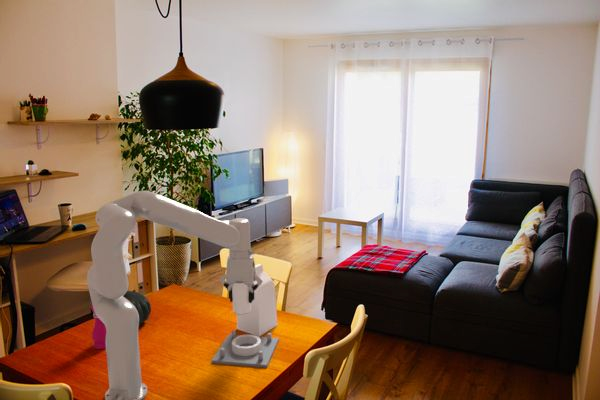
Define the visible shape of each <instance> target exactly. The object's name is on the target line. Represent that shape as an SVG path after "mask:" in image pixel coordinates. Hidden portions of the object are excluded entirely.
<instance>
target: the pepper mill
mask: <svg viewBox="0 0 600 400" xmlns="http://www.w3.org/2000/svg"><path fill="white" fill-rule="evenodd" d="M90 310H91V311H92V312H93V313H92V316H93V318H94V326H93V329H92V332H91V338H92V340H93V341H94V342H93V347H94V349H96V350H102V349H105V350H106V332H107V331H106V326H105V324H104V323H103V322H102V321H101V320H100V319H99V318H98V317H97V315H96V314H95V311H94V308H93V305H92V303H91V305H90Z"/></svg>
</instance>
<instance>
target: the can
mask: <svg viewBox="0 0 600 400" xmlns="http://www.w3.org/2000/svg"><path fill="white" fill-rule="evenodd" d="M249 292H250V290H249V288H248V285H245V284H244V282H243V283H237V282H235V283H234V284H233V285H232V299H233V301H232V312H233V313H234V314H235V315H237V314H238V315H244V314H247V313H249V312H250V311H251V303H249Z"/></svg>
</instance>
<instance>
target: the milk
mask: <svg viewBox="0 0 600 400" xmlns="http://www.w3.org/2000/svg"><path fill="white" fill-rule="evenodd" d="M255 270H256V275H257V276H258V277H259V278H260V279H261V280H262V281H263V282H262V284H261V285H260V286H259V287H258V288H257V289H256V290H255V291H254V300H253V301H252V303H251V311H250V312H249V313H247V314H244V315H238V314H236V330H237V331H242V332H244V333H247V334H249V335H255V336H257V337H262V336H263V335H264V334H266V333H268V332H269V331H271V330H272V329H274V328H275V327H277V326H278V316H277V315H278V313H277V301H276V289H275V281H274V280H273V279H272V278H271V277H270V276H269V275H268V274H267V272H266V271H265V270H264V267H263V265H262V264H261V263H259V264H255ZM253 284H254V285H255V284H257V281H256V280H255V281H254V283H253Z"/></svg>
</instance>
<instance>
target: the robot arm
mask: <svg viewBox="0 0 600 400" xmlns="http://www.w3.org/2000/svg"><path fill="white" fill-rule="evenodd" d="M140 218H143V219H145V220H148V221H150V222H152V223H156V224H158V225H161V226H164V227H166V228H169V229H172V230H175V231H177V232H179V233H182V234H185V235H188V236H192V237H195V238H197V239H198V238H199V239H202V240H205V241H207V242H210V243H213V244H215V245H217V246H221V247H223V248H225V249H228V250H229V251H228V252H229V255H228V257H227V261H226V270H225V271H226V272H225V274H224V275H223V276H222V277H221V278H220V279H219V282H220V284H221V285H222V286H223V287H224V288H225V289H226V290H227V292H228V299H229V302H230V303H233V299H232V285H233V284H234V283H235V282H237V283H243V282H244V284H245V285H248V288H249V290H250V292H249V303H252V301H253V300H254V291H255V290H256V289H257V288H258V287H259V286H260V285H261V284H262V282H263V281H262V280H261V279H260V278H259V277H258V276H257V275H256V270H255V266H256V262H255V258H254V256H253V255H255V253H256V252H255V250H252V247H251V246H252V245H251V223H250V220H249V219H247V218H242V217H236V218H232V219H229V220H219V219H217V218H214V217H213V216H209V215H208V214H205V213H203V212H201V211H199V210H198V209H196V208H193V207H191V206H189V205H186V204H184V203H180V202H178V201H176V200H173V199H171V198H168V197H167V196H164V195H161V194H159V193H155V192H152V191H149V190H139V191H135V192H133V193H130V194H128V195H126V196H122V197H120V198H117V199H115V200H112V201H110V202H107V203H105V204H103V205H102V206H100V207H99V208H98V210H97V211H96V214H95V223H96V225H97V226H98V228H99V229H98V230H97V232H96V234H95V236H94V238H93V239H92V243H91V247H90V249H91V250H90V251H91V259H92V260H91V261H92V265H91V266H90V268H89V269H88V271H87V275H86V282H87V287H88V292H89V295H90V301H91V304H92V305H93V308H94V311H95V314H96V315H97V317H98V318H99V319H100V320H101V321H102V322H103V323H104V324H105V326H106V331H107V332H106V348H105V352H106V361H107V373H108V384H109V388H108V390H106V392H105V393H104V400H143V399H144V398H145V397H146V395H147V393H148V386H147V385H146V383H144V382H142V371H141V370H142V369H141V355H140V346H139V327H140V325H139V314H138V311H137V309H136V308H135V306H134V305H133V304H132V303H131V302H130V301H128V300H127V299H126V298H124V297H123V296H124V295H125V293H126V292H127V291H129V290H128V288H129V278H128V274H127V269H126V265H125V260H124V252H123V248H124V247H123V246H124V244H125V243H126V240H127V239H128V238H129V236H131V235H132V234H133V232H134V230H135V229H136V226H137V225H136V223H137V221H136V220H138V219H140ZM255 280H256V281H257V284H255V285H254V284H253V283H254V281H255Z"/></svg>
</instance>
